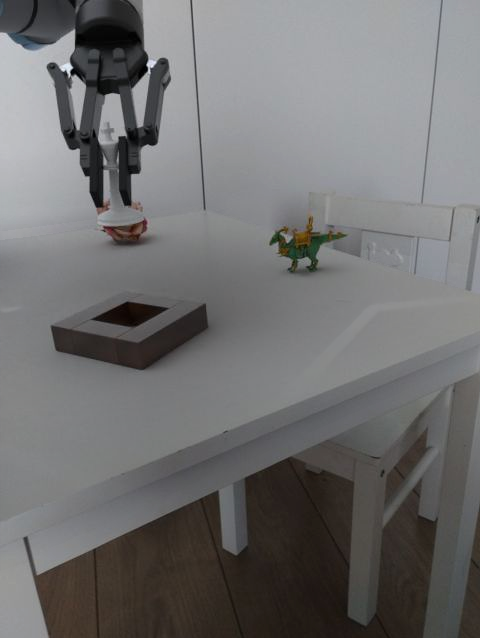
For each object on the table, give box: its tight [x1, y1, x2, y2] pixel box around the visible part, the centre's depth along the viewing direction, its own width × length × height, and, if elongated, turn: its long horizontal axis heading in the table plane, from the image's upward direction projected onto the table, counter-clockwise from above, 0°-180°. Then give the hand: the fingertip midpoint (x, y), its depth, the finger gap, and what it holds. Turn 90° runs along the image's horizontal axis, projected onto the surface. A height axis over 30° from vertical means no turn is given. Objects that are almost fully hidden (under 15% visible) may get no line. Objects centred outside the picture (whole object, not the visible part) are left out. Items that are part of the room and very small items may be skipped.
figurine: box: [268, 214, 349, 274], centre depth 84 cm, size 3×12×8 cm, turn 100°
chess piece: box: [97, 121, 145, 227], centre depth 59 cm, size 5×5×10 cm
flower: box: [94, 197, 149, 246], centre depth 107 cm, size 10×9×8 cm
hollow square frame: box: [50, 290, 209, 371], centre depth 64 cm, size 12×12×3 cm
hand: (111, 198), depth 57 cm, fingers closed on chess piece, 2 cm apart
